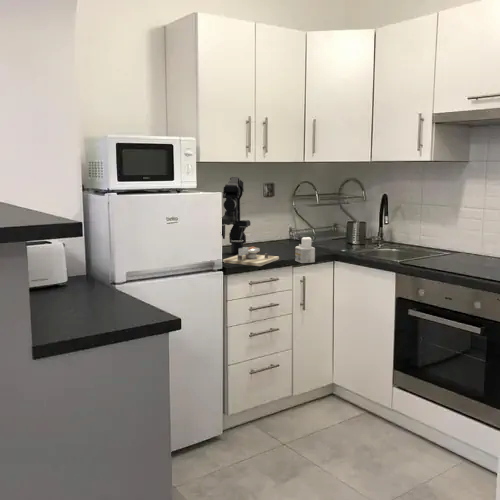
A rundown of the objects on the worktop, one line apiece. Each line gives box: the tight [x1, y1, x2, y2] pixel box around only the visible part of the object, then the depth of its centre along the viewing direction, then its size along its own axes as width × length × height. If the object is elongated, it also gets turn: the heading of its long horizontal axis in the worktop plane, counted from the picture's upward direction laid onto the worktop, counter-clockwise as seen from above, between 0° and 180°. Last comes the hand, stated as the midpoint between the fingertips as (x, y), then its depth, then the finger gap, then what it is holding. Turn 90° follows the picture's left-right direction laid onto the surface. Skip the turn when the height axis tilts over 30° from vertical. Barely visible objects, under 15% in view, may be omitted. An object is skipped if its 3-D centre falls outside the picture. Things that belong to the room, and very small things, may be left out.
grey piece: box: [238, 246, 261, 256], centre depth 288 cm, size 16×9×4 cm, turn 151°
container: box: [294, 236, 316, 264], centre depth 288 cm, size 8×8×13 cm
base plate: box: [222, 252, 280, 267], centre depth 291 cm, size 22×22×5 cm
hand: (231, 239), depth 284 cm, fingers open, 9 cm apart
